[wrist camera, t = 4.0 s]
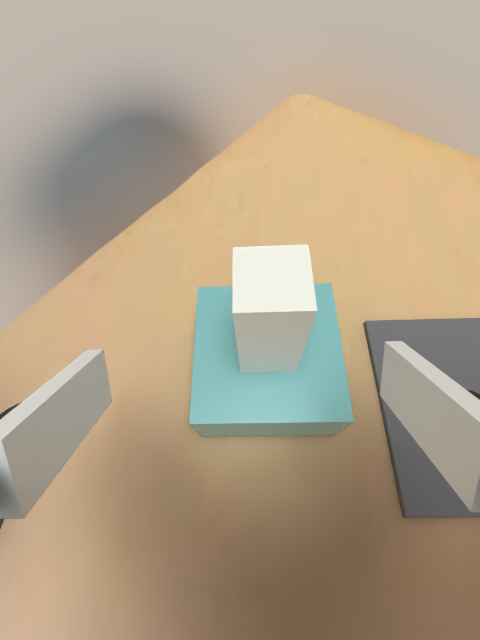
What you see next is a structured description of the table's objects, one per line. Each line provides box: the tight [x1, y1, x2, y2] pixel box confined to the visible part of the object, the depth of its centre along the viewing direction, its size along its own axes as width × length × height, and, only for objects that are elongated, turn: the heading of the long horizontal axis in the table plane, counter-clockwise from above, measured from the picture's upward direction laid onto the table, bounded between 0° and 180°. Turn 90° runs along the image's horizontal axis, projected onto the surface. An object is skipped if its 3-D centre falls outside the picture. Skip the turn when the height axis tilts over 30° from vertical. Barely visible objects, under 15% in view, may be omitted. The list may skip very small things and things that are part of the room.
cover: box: [189, 245, 354, 437], centre depth 23 cm, size 11×11×15 cm
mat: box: [364, 318, 480, 517], centre depth 27 cm, size 16×16×1 cm
